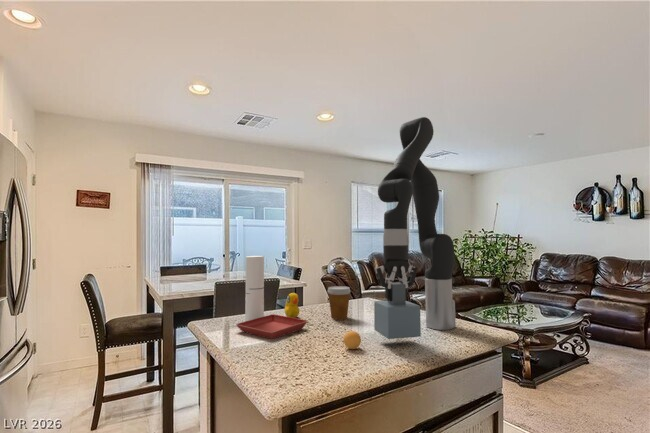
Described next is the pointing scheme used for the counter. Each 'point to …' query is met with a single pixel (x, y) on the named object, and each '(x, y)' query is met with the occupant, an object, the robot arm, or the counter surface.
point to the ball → (352, 340)
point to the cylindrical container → (254, 287)
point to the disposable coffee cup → (339, 301)
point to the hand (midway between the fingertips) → (396, 300)
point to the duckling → (292, 305)
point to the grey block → (397, 315)
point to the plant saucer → (272, 326)
